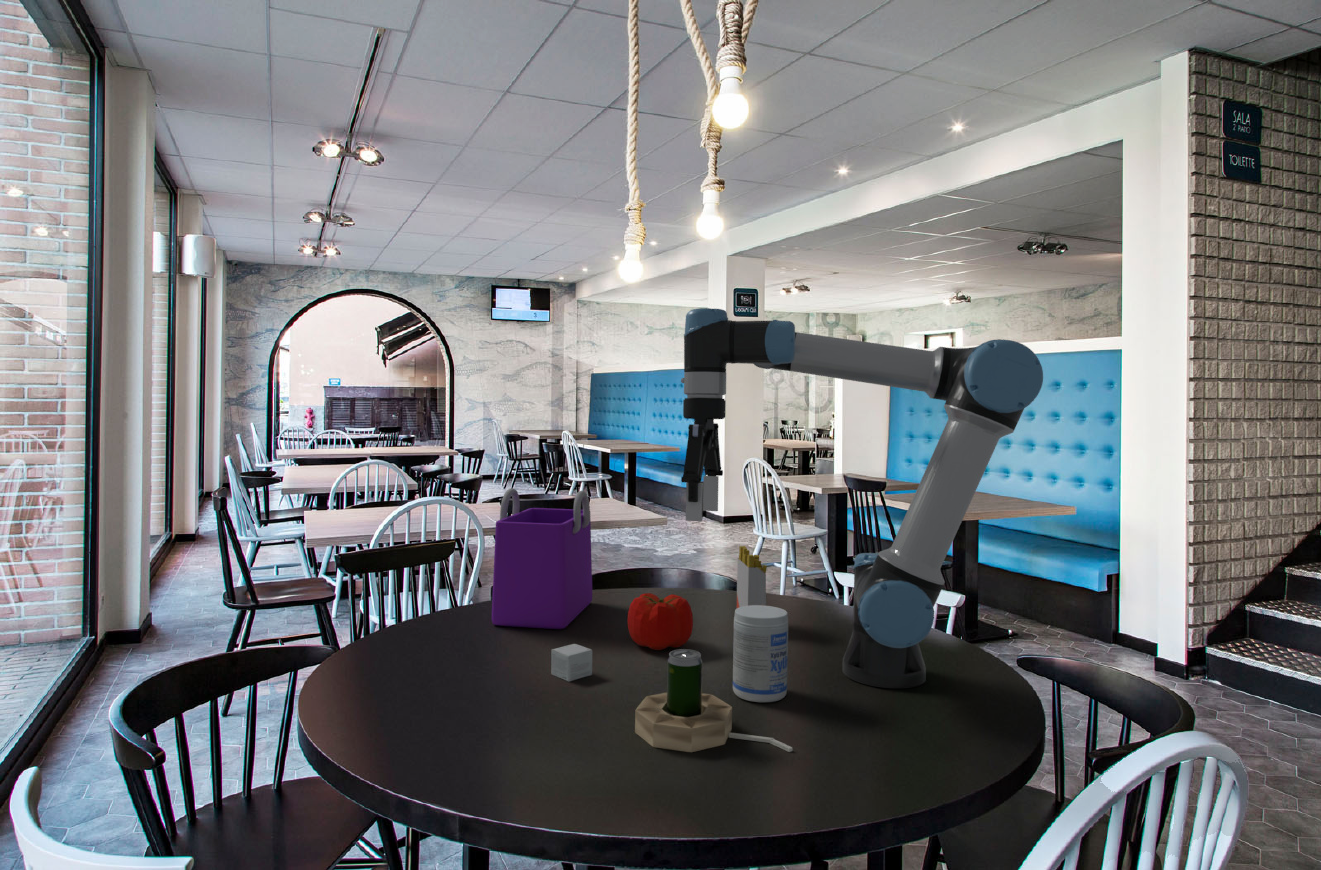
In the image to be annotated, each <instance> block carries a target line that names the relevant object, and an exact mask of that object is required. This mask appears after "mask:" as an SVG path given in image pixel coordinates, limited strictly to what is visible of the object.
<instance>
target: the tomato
mask: <svg viewBox="0 0 1321 870" xmlns="http://www.w3.org/2000/svg"><path fill="white" fill-rule="evenodd" d="M691 607H692V606H691V605H690V603H689V601H688V600H687V599H686V598H683V597H682V596H680V595H677V594H670V595H667V596H666V597H661V598H660V597H659V596H658V595H655V594H654V593H651V592H646V593H642V594H640V595H639V596H637V597H634V599H633V600H632V602H631V603H630V605H629V608H628V611H627V628H628V629H627V630H628V633H629V636H630V638H631V639H632V641H633V642H635V644H637V645H638V646H640V647H648V648H649V649H651V650H655V651H661V650H665V649H667V648H668V647H670V648H679V647H681V646H683V645H685V644H687V642H688V641H689V640H690V638H691V636H692V634H693V633H692V632H693V629H694V628H693V627H694V626H693V625H694V617H693V616H694V615H693V611H692V608H691Z"/></svg>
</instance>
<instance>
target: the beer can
mask: <svg viewBox="0 0 1321 870" xmlns="http://www.w3.org/2000/svg"><path fill="white" fill-rule="evenodd" d="M668 656H669V657H668V658H667V663H666V664H667V667H666V668H667V672H666V673H667V675H666V676H667V678H666V693H667V713H668V714H669V715H672V716H680V717H692V716H697V715H701V712H702V693H703V659H702V658H701V657H702V654H701V652H699V651H697V650H694V649H690V648H689V649H686V648H683V649H682V648H681V649H680V648H679V649H674V650H672V651H670V652H669V653H668Z"/></svg>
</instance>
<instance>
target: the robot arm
mask: <svg viewBox="0 0 1321 870" xmlns="http://www.w3.org/2000/svg"><path fill="white" fill-rule="evenodd" d="M683 339H684V340H683V342H684V343H683V344H684V345H683V354H684V355H683V375H684V377H682V378H681V379H680V383H681V384H684V385H683V394H684V395H686V397H684V399H683V407H682V411H683V413H682V416H683V418H684V419H688V420H689V419H690V420H693V423H691V424H688V427H687V428H688V430H687V431H688V436H687V443H686V451H685V460H684V468H683V474H682V476H681V480H680V481H681V483H686V484H685V488H686V489H685V490H686V491H685V521H686V522H703V512H705V511H707V512H718V511H719V477H721V476H723V475H724V470H722V465H721V454H720V441H719V440H720V439H719V424H718V423H717V422H715V421H714V420H724V419H725V418H726V406H727V405H726V400H725V398H724V396H726V394H727V364H749V365H751V364H752V365H754V366H756V367H757V368H760V369H764V370H765V369H766V370H771V369H773V370H779V371H786V372H787V371H788V372H794V373H799V374H800V373H801V374H806V375H813V376H821V377H827V378H833V379H834V378H835V379H840V380H846V381H853V382H861V383H867V384H873V385H878V386H883V387H884V386H886V387H892V388H899V389H903V390H904V389H905V390H911V391H918V392H924V393H926V395H927V396H928V397H929V399H933V400H941V401H944V402H945V403H944V405H943V408H944V410H945V412H946V414H947V421H946V423H945V425H944V428H943V430H942V432H941V435H940V437H939V439H938V442H937V444H936V446H935V448H934V450H933V453H932V455H931V457H930V460H929V462H928V464H927V466H926V468H925V471H924V473H923V475H922V477H921V480H920V481H919V484H918V486H917V489H916V491H915V494H914V495H913V497H912V500H911V502H910V504H909V506H908V509H907V511H906V513H905V515H904V517H903V520H902V523H901V524H900V525H899V529H898V531H897V533H896V536H895V537H894V540H893V543H892V545H891V546H890V547H889V548H886V549H883V550H880V551H879V552H878V553H877V552H876V553H875V552H862V553H861V552H860V553H858V554H857V555H856V556H855V558H854V565H853V567H852V569H853V571H854V573H853V574H854V575H853V610H852V611H853V613H852V620H853V621H852V633H851V636H850V639H849V641H848V644H847V646H846V649H845V652H844V655H843V656H842V657H843V658H842V674H843V675H844V676H846V677H847V678H849V679H850V680H852V681H854V682H857V683H860V684H863V685H866V686H871V687H878V688H883V689H909V688H916V687H918V686H921V685H923V684H924V683H925V682H926V676H927V674H926V672H927V671H926V670H927V669H926V664H925V660H924V657H923V655H922V649H921V647H920V644H919V643H920V642H921V641H923V640H925V638H926V637H927V636H928V635H929V633H930V632H931V630H932V627H933V624H934V619H935V608H934V607H935V605H936V603H937V600H938V598H939V596H940V594H941V592H942V589H943V588H944V585H945V583H946V581H945V579H944V576H943V574H942V572H941V568H942V565H943V563H944V561H945V559H946V557H947V556H948V553H949V550H950V548H951V546H952V544H953V542H954V539H955V537H956V535H957V533H958V530H959V529H960V526H961V525H962V522H963V520H964V518H965V515H966V513H967V511H968V509H969V506H970V505H971V502H972V500H973V498H974V496H975V493H976V490H977V489H978V487H979V485H980V483H981V480H982V477H983V476H984V473H985V472H986V470H987V467H988V464H989V463H990V460H991V458H992V456H993V455H994V454H993V453H994V452H995V450H996V448H997V445H998V443H999V441H1000V440H1001V439H1002V438H1003V437H1006V436H1008V435H1010V434H1012V433H1014V431H1015V430H1016V427H1017V425H1018V423H1019V421H1020V419H1021V417H1022V415H1023V412H1024V410H1025V408H1028V407H1029V406H1030V405H1031V404H1032V403H1033V402H1034V401H1035V400H1036V398H1037V397H1038V396H1039V393H1040V391H1041V389H1042V386H1043V384H1044V383H1043V382H1044V370H1043V366H1042V364H1041V362H1040V359H1039V358H1038V356H1037V355H1036V353H1035V352H1034V351H1033V350H1032V349H1031V348H1029V347H1028V346H1026V345H1025V344H1023V343H1021V342H1018V341H1015V340H1011V339H1000V338H999V339H990V340H987V341H985V342H983V343H981V344H979V345H977V346H973V347H967V348H966V347H964V348H963V347H962V348H961V347H960V348H958V347H957V348H955V347H945V346H938V348H936V349H934V350H926V349H920V348H919V349H918V348H912V347H903V346H898V345H889V344H884V343H883V344H882V343H878V342H869V341H862V340H855V339H848V338H839V337H834V336H827V335H819V334H814V333H813V334H812V333H807V332H806V333H805V332H798V331H796V325H795V324H794V322H793V321H790V320H778V319H773V320H739V321H738V320H733V319H732V320H730V319H729V317H728V312H727V310H724V309H722V308H707V307H706V308H705V307H703V308H694V309H690V310H689V311H688V312H687V313H686V314H685V326H684V334H683ZM703 471H704V475H703ZM702 476H703V477H702ZM702 478H703V482H702Z"/></svg>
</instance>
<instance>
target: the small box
mask: <svg viewBox="0 0 1321 870" xmlns="http://www.w3.org/2000/svg"><path fill="white" fill-rule="evenodd" d="M550 655H551V663H550V665H551V667H550V668H551V669H550V670H551V671H550V672H551V673H550V674H551V675H552V676H555V677H557V678H559V679H562V680H564V681H566V682H573V681H576V680H579V679H582V678H585V677H590V676H593V649H591V648H588V647H585V646H583V645H579V644H577V643H572V644H568V645H564V646H561V647H557V648H551V654H550Z"/></svg>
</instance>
